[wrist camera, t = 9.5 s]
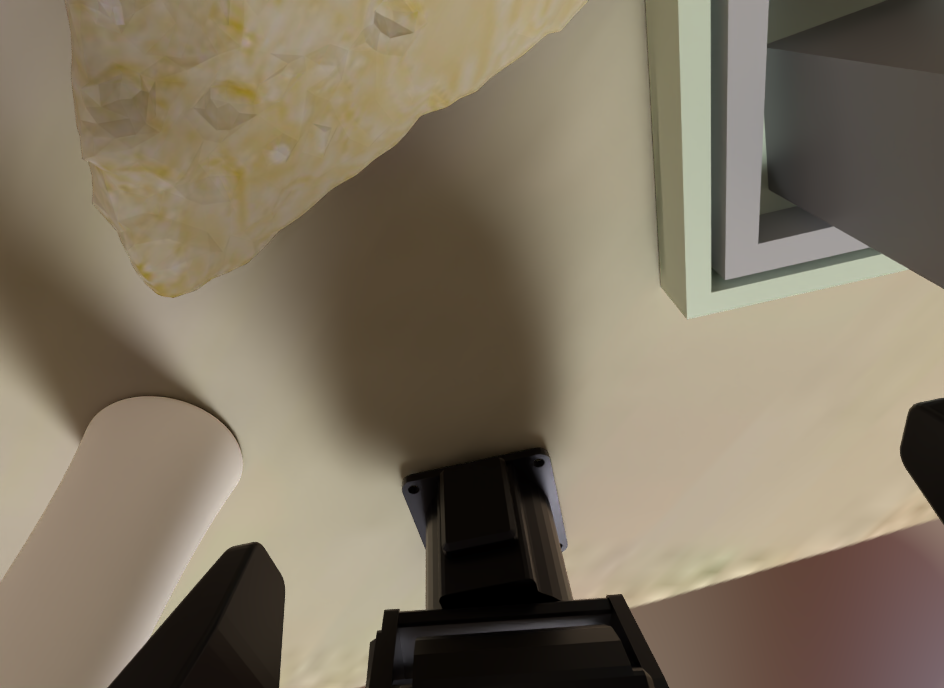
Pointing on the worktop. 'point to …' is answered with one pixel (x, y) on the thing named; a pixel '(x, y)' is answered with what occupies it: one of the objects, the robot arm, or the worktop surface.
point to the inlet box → (734, 161)
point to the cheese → (263, 108)
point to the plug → (864, 128)
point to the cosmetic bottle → (113, 542)
